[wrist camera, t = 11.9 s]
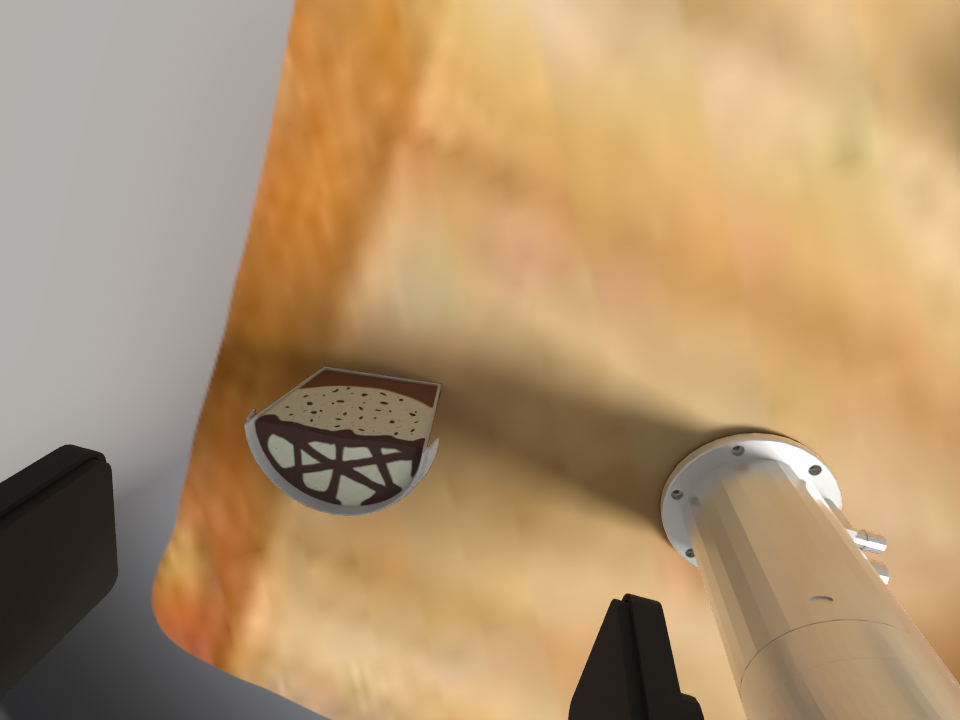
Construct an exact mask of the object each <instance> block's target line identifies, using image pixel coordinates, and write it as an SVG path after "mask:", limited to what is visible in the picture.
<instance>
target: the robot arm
mask: <svg viewBox="0 0 960 720" xmlns="http://www.w3.org/2000/svg"><path fill="white" fill-rule="evenodd" d="M735 446H736V447H735ZM842 507H843V502H842V494H841V489H840V487H839V484H838V482H837V479H836V477H835V476H834V474H833V473H832V472H831V470H830V469H829V467H828V466H827V465H826V464H825V463H824V462H823V460H822V459H821V458H820V457H819V456H818V455H817V454H816V453H814V452H813V451H811V450H810V449H809V448H807V447H806V446H804V445H802V444H800V443H798V442H796V441H794V440H791V439H789V438H785V437H781V436H777V435H773V434H762V433H747V434H736V435H732V436H728V437H724V438H720V439H717V440H715V441H712V442H710V443H708V444H705V445H703V446H702V447H700V448H698V449H697V450H695V451H694V452H692V453H690V454H689V455H688V456H687V457H686V458H685V459H684V460H682V461H681V462H680V463H679V464H678V465H677V467H676V468H675V469H674V471H673V472H672V473H671V475H670V476H669V478H668V480H667V482H666V484H665V486H664V488H663V493H662V497H661V518H662V522H663V527H664V530H665V532H666V535H667V537H668V540H669V541H670V543H671V544H672V546H673V547H674V549H675V550H676V551H677V552H678V553H679V554H680V555H681V556H682V558H684V559H685V560H686V561H688V562H689V563H691V564H692V565H694V566H695V567H697V568H699V571H700V574H701V577H702V580H703V583H704V586H705V590H706V593H707V596H708V599H709V602H710V605H711V608H712V611H713V615H714V618H715V621H716V624H717V627H718V630H719V633H720V636H721V639H722V643H723V646H724V649H725V652H726V655H727V658H728V661H729V664H730V668H731V671H732V674H733V677H734V680H735V683H736V686H737V689H738V692H739V696H740V699H741V702H742V705H743V708H744V711H745V714H746V717H747V720H960V684H959V683H958V681H957V680H956V679H955V677H954V676H953V675H952V673H951V672H950V671H949V669H948V668H947V667H946V665H945V664H944V662H943V661H942V660H941V658H940V657H939V656H938V654H937V653H936V652H935V650H934V649H933V648H932V646H931V645H930V644H929V642H928V641H927V639H926V638H925V637H924V635H923V634H922V633H921V631H920V630H919V629H918V627H917V626H916V624H915V623H914V622H913V620H912V619H911V618H910V616H909V615H908V614H907V612H906V611H905V610H904V608H903V607H902V605H901V604H900V603H899V601H898V600H897V599H896V597H895V596H894V595H893V593H892V592H891V590H890V589H889V588H888V586H887V585H886V584H887V582H888V578H889V575H888V569H887V567H886V565H885V564H883V563H882V562H880V561H876V560H872V559H868V558H866V556H865V555H864V554H863V552H862V551H861V550H865V551H869V552H873V553H876V554H881V553H882V552H883V551H884V550H885V547H886V540H885V538H884V536H883V535H881V534H878V533H874V532H870V531H866V530H859V529H855V528H853V526H852V525H851V524H850V522H849V521H848V520H847V518H846V517H845V516H844V514H843V513H842ZM860 549H861V550H860ZM117 576H118V565H117V549H116V533H115V516H114V501H113V484H112V469H111V466H110V465H109V464H108V463H106V459H105V456H104V455H103V454H102V453H100V452H97V451H93V450H90V449H86V448H82V447H78V446H75V445H71V444H70V445H64V446H62V447H59V448H58V449H56V450H54V451H53V452H51V453H49V454H48V455H46V456H44V457H43V458H41V459H40V460H38V461H36V462H34V463H33V464H31V465H30V466H28V467H26V468H25V469H23V470H22V471H19V472H18V473H16V474H15V475H13V476H11V477H10V478H8V479H6V480H5V481H3V482H1V483H0V700H1V699H2V698H3V697H4V696H5V695H6V694H7V693H8V692H9V691H10V690H11V689H12V688H13V687H14V686H15V685H16V684H17V683H18V682H19V681H20V680H21V679H22V678H23V677H24V676H25V675H26V674H27V673H28V672H29V671H30V670H31V669H32V668H33V667H34V666H35V665H36V664H37V663H38V662H39V661H40V660H41V659H42V658H43V657H44V656H45V655H46V654H47V653H48V652H49V651H50V650H51V649H52V648H53V647H54V646H55V645H56V644H57V643H59V641H60V640H62V638H64V637H65V636H66V635H67V634H68V633H69V632H70V630H72V628H74V627H75V626H76V625H77V623H79V622H80V621H81V620H82V619H83V618H84V617H85V616H86V615H87V614H88V613H89V612H90V611H91V610H92V609H93V608H94V607H95V606H96V605H97V604H98V603H99V602H100V601H101V600H102V599H103V598H104V597H105V596H106V595H107V594H108V593H109V591H110V590H111V589H112V587H113V586H114V584H115V582H116V579H117ZM568 720H704V716H703V713H702V710H701V707H700V704H699V703H698V701H697V700H696V698H695V697H693V696H690V695H687V694H683V693H681V692H680V687H679V683H678V678H677V673H676V669H675V664H674V659H673V655H672V650H671V645H670V641H669V636H668V632H667V627H666V622H665V618H664V613H663V609H662V606H661V604H660V603H659V602H658V601H654V600H651V599H647V598H643V597H640V596H636V595H632V594H625V595H624V597H623V599H622V601H621V600H617V599H613V600H612V601H611V603H610V606H609V608H608V611H607V613H606V616H605V618H604V621H603V623H602V626H601V628H600V631H599V633H598V636H597V638H596V641H595V643H594V645H593V648H592V650H591V653H590V655H589V658H588V660H587V663H586V665H585V668H584V670H583V673H582V675H581V678H580V680H579V683H578V685H577V688H576V690H575V693H574V695H573V698H572V701H571V704H570V709H569V717H568Z"/></svg>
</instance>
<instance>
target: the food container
mask: <svg viewBox="0 0 960 720" xmlns="http://www.w3.org/2000/svg"><path fill="white" fill-rule="evenodd" d="M441 385H442V384H439V383H432V382H426V381H419V380H412V379H406V378H399V377H392V376H385V375H379V374H372V373H365V372H359V371H352V370H345V369H339V368H332V367H325V366H324V367H323V368H321V369H320V370H318V371H317V372H316V373H314V374H313V375H311V376H310V377H309V378H307V379H306V380H304V381H303V382H302V383H300V384H299V385H297V386H296V387H295V388H293V389H292V390H290V391H289V392H288V393H286V394H285V395H283V396H282V397H281V398H279V399H278V400H276V401H275V402H274V403H272V404H271V405H269V406H268V407H267V408H265V409H264V410H262V411H261V412H260V413H258V414H257V415H256V409H252V411H251V412H250V414H249V415H248V416H247V418H246V423H245V424H244V427H245V434H246V438H247V441H248V444H249V448H250V450H251V452H252V454H253V456H254V458H255V460H256V462H257V464H258V465H259V467H260V468H261V470H262V471H263V472H264V474H265V475H266V476H267V477H268V478H269V479H270V480H271V482H272V483H273V484H274V485H276V486H277V487H278V488H279V489H280V490H281V491H282V492H284V493H285V494H287V495H288V496H289V497H291V498H292V499H294V500H296V501H297V502H299V503H301V504H303V505H305V506H307V507H310V508H312V509H315V510H318V511H321V512H325V513H329V514H334V515H344V516H353V515H364V514H369V513H373V512H376V511H379V510H382V509H384V508H386V507H388V506H390V505H392V504H394V503H396V502H397V501H399V500H401V499H402V498H403V497H404V496H406V495H407V494H408V493H409V492H410V491H411V490H412V489H413V488H414V487H415V486H416V485H417V483H418V482H419V481H420V480H421V479H422V478H423V477H424V475H425V474H426V473H427V471H428V470H429V468H430V466H431V465H432V463H433V460H434V458H435V455H436V452H437V448H438V443H439V438H436V439H435V440H434V441H433V443H432V444H431V445H430V446H429V447H427V446H428V442H429V438H430V434H431V430H432V425H433V421H434V417H435V413H436V409H437V405H438V400H439V396H440V391H441Z"/></svg>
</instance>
